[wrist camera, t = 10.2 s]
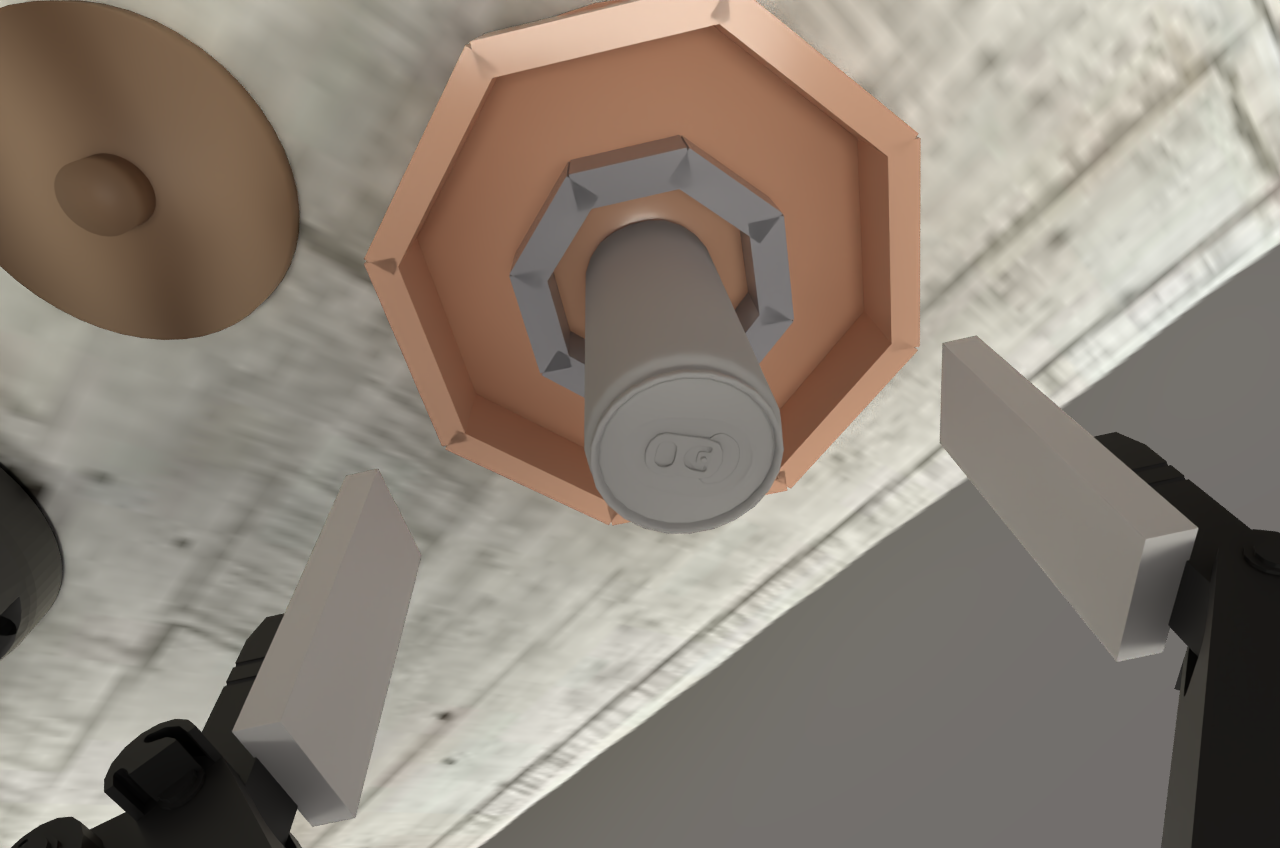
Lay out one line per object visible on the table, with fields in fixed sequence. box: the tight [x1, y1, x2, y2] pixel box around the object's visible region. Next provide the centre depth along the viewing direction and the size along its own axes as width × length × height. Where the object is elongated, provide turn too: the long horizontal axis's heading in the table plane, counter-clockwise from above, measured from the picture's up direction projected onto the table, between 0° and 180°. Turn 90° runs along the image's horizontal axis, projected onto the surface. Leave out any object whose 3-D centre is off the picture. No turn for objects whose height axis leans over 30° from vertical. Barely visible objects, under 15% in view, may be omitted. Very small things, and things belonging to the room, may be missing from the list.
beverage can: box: [584, 220, 784, 534], centre depth 22 cm, size 5×5×12 cm
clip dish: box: [364, 0, 920, 525], centre depth 26 cm, size 18×18×4 cm
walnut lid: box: [0, 0, 299, 340], centre depth 24 cm, size 11×11×3 cm
